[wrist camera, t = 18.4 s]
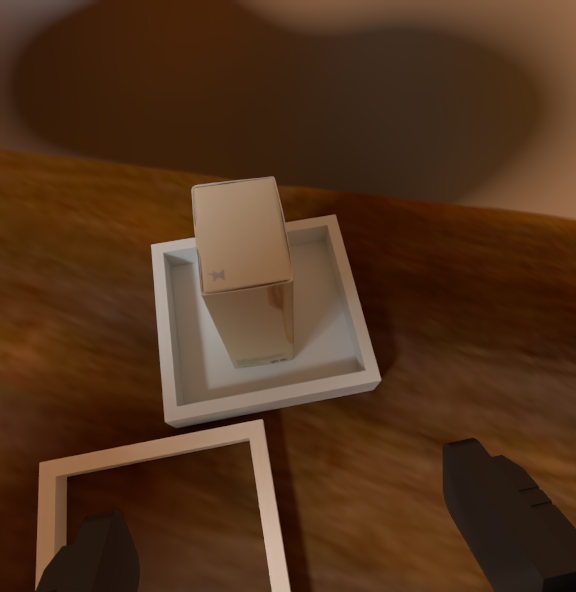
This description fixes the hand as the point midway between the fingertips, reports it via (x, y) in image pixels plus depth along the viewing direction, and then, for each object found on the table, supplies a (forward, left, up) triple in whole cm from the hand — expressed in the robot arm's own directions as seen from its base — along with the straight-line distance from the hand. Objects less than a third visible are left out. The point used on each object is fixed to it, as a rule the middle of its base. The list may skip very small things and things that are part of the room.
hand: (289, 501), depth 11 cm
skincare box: (+11, 0, -18) cm, 21 cm away
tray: (+12, 0, -19) cm, 22 cm away
